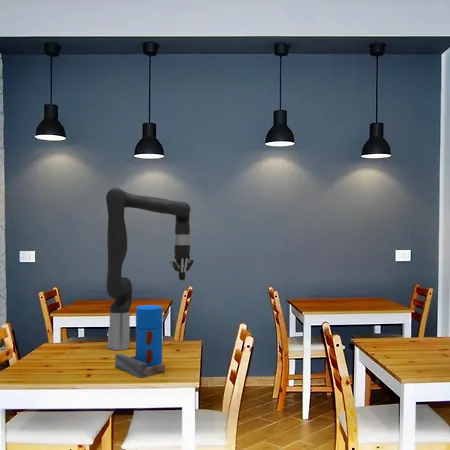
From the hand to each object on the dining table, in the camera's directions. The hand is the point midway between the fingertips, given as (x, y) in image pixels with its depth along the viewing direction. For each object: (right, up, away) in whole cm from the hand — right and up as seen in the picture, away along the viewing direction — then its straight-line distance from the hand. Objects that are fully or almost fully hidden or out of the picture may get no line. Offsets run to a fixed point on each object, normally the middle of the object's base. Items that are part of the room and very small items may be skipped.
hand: (181, 280), depth 255 cm
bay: (-14, -33, -37) cm, 52 cm away
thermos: (-11, -33, -34) cm, 49 cm away
